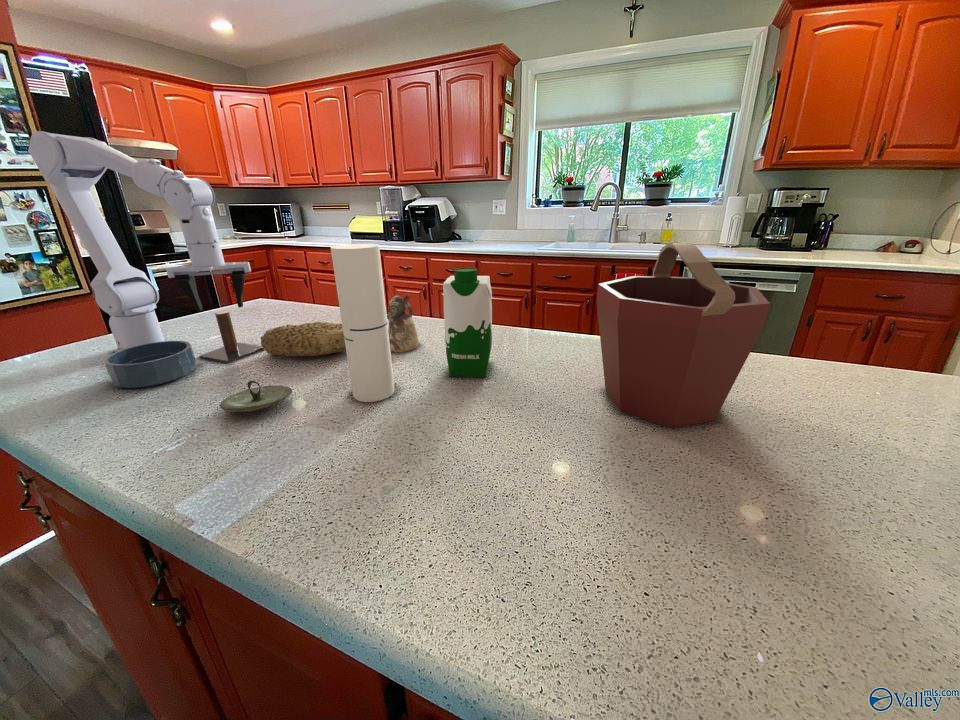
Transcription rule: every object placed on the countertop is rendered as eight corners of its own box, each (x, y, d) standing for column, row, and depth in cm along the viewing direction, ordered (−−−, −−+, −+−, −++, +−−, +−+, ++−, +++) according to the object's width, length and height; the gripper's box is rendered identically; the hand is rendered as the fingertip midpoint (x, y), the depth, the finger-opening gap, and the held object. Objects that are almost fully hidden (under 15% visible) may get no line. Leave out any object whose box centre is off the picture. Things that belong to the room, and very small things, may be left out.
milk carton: (444, 378, 75) (438, 271, 67) (451, 360, 83) (447, 263, 76) (490, 379, 74) (489, 271, 66) (493, 361, 82) (493, 263, 75)
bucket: (743, 457, 51) (800, 259, 41) (572, 421, 60) (586, 251, 50) (724, 382, 71) (759, 238, 62) (599, 364, 80) (613, 235, 71)
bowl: (97, 384, 75) (87, 359, 73) (170, 359, 86) (163, 337, 84) (141, 395, 70) (131, 369, 68) (212, 367, 81) (205, 344, 80)
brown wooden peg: (223, 352, 88) (212, 313, 85) (233, 348, 90) (223, 310, 87) (231, 354, 87) (220, 314, 84) (241, 350, 89) (231, 311, 86)
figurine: (384, 344, 93) (378, 293, 89) (413, 339, 96) (409, 290, 91) (391, 354, 87) (385, 300, 83) (422, 348, 90) (418, 296, 85)
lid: (239, 436, 60) (236, 410, 58) (208, 404, 64) (205, 378, 62) (303, 410, 68) (304, 387, 66) (272, 383, 72) (272, 360, 70)
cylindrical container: (384, 403, 66) (365, 249, 56) (345, 399, 67) (320, 248, 58) (400, 385, 72) (386, 243, 63) (364, 382, 74) (345, 243, 64)
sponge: (260, 366, 85) (338, 355, 79) (251, 330, 84) (329, 316, 78) (303, 355, 97) (373, 345, 91) (296, 323, 96) (366, 311, 90)
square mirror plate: (199, 357, 87) (199, 355, 87) (236, 344, 94) (236, 342, 94) (228, 363, 84) (227, 361, 83) (264, 349, 91) (263, 347, 91)
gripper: (153, 246, 74) (175, 316, 79) (241, 242, 79) (256, 308, 84) (164, 243, 80) (184, 308, 85) (245, 239, 85) (259, 301, 90)
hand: (220, 308), depth 85 cm, fingers open, 7 cm apart
